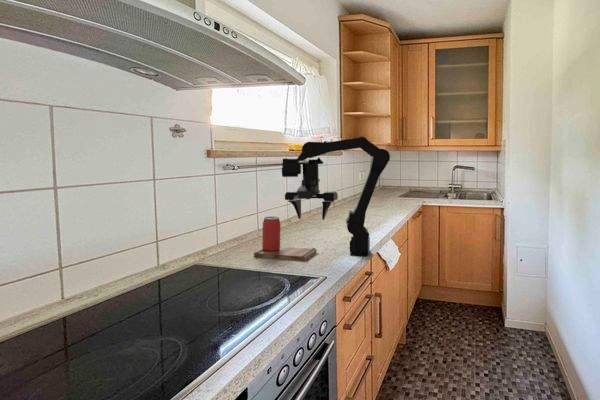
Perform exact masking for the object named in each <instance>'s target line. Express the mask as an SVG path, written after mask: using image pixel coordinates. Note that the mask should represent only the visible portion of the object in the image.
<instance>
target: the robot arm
mask: <svg viewBox="0 0 600 400" xmlns="http://www.w3.org/2000/svg"><path fill="white" fill-rule="evenodd" d="M353 149H361V150H362V151H363V152H365V154H367V155H369V156H370V157H371V160H370V164H369V171H368V174H367V176H366V179H365V182H364V184H363V187H362V190H361V194H360V196H359V199H358V201H357V203H356V207H354V209H353V211H352V210H350V209H349V212H348V215H347V218H346V219H345V222H346V228H347V232H349V234H351V235H352V236H351V237H350V241H349V255H350V256H363V257H368V256H369V255H370V253H371V252H372V250H370V249H371V248H370V246H371V244H370V243H371V242H370V241H371V240H370V233H369V230H368V228H367V227H365V220H366V213H367V209H368V208H369V205H370V202H371V199H372V197H373V194H374V191H375V189H376V186H377V184H378V181H379V178H380V176H381V175H382V173H383V171H384V170H385V168H387V165H388V163H389V161H390V160H391V155H390V152H389V151H388V150H387V149H386V148H380V147H378V146H377V145H375V144H374V143H373V142H371V141H369V140H368V139H367V138H366V137H365V136H359V137H354V138H349V139H348V138H347V139H342V140H336V141H335V140H334V141H326V142H324V141H322V142H321V141H307V142H304V144H303V145H302V147H301V152H300V154H299V155H298V156H297V158H282V164H281V165H282V167H281V176H282V177H283V178H296V177H297V178H298V177H299V175H302V179H301V183H300V184H301V185H299V187H298V188H297V190H289V191H286V192H285V194H284V200H285V201H288V203H290V204H292V206H293V207H294V210H295V212H296V215H297V218H298V219H299V220H301V218H302V200H303V199H305V200H311V199H323V200H324V201H322V202H321V204H322V211H321V212H322V214H321V215H322V216H321V217H322V219H321V220H323V221H324V220H325V219H326V217H327V213H328V211H329V209H330V206H331V204H332V203H334V202H335V201H337V200H338V198H339V194H338V192H337V191H324V192H323V193H321V190H319V189H320V185H319V184H320V180H321V179H320V177H319V176H320V175H319V172H320V171H319V165H323V164H324V161H323V160H322V159H321V158H320V157H318V156H321V155H324V154H328V153H331V152H340V151H346V150H353ZM315 157H318V158H317V159H312V158H315ZM307 159H308V162H304V161H306V160H307Z"/></svg>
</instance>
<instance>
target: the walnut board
mask: <svg viewBox="0 0 600 400" xmlns="http://www.w3.org/2000/svg"><path fill="white" fill-rule="evenodd" d="M317 253H318V252H317V248H315V247H313V248H312V247H311V248H308V247H307V248H305V247H293V246H292V247H291V246H280V249H279V250H277V251H265V250H264V249H263V248H261V249H259V250H257V251H255V252H253V257H254V258H263V259H273V260H275V259H277V260H288V261H289V260H290V261H301V262H306V261H308V260H309V259H310V258H311V257H313V256H314V255H316V254H317Z"/></svg>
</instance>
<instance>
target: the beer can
mask: <svg viewBox="0 0 600 400" xmlns="http://www.w3.org/2000/svg"><path fill="white" fill-rule="evenodd" d="M261 243H262V248H263V249H264V250H265V251H277V250H279V249H280V247H281V220H280V217H279V216H265V217H264V218H263V221H262V242H261ZM262 248H261V249H262Z"/></svg>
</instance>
